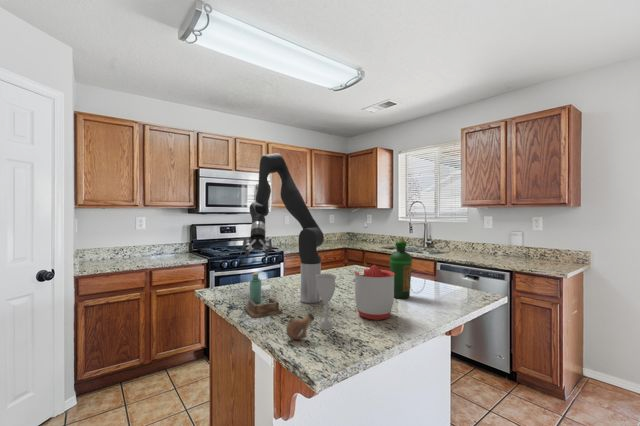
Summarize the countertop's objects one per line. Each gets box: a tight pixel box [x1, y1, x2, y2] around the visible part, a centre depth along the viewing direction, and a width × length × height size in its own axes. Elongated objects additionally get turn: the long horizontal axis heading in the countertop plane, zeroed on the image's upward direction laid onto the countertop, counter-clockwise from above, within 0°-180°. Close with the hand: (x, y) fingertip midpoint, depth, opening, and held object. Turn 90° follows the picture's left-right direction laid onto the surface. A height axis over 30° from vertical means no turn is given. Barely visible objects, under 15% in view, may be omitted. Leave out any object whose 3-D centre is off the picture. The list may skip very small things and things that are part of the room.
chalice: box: [316, 273, 337, 330], centre depth 111 cm, size 7×7×18 cm
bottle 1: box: [249, 271, 262, 305], centre depth 141 cm, size 5×5×13 cm
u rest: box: [243, 297, 283, 319], centre depth 128 cm, size 12×12×4 cm
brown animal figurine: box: [285, 312, 315, 341], centre depth 100 cm, size 9×4×8 cm, turn 103°
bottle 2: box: [389, 237, 413, 300], centre depth 151 cm, size 11×11×28 cm
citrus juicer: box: [352, 264, 395, 321], centre depth 124 cm, size 16×17×20 cm
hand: (256, 257), depth 152 cm, fingers open, 8 cm apart
